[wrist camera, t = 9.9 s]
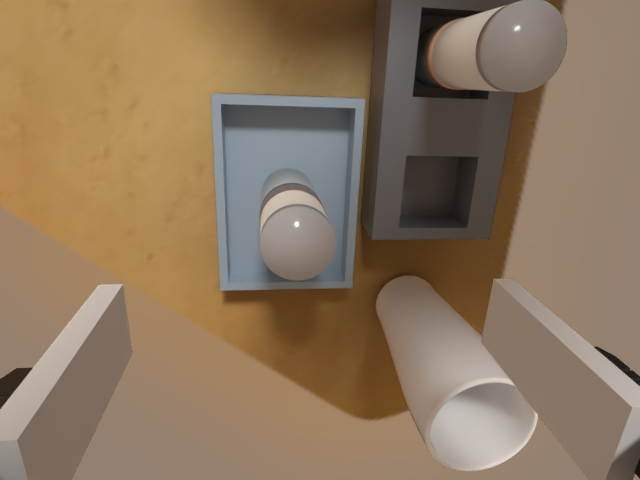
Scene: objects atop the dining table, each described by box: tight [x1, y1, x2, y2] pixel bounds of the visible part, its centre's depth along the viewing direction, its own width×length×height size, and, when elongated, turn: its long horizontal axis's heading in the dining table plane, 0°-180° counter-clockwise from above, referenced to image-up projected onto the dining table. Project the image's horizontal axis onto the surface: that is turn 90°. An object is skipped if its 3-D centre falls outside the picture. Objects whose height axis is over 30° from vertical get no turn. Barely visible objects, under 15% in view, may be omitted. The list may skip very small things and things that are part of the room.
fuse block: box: [361, 0, 522, 240], centre depth 31 cm, size 16×9×4 cm, turn 178°
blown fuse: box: [260, 168, 336, 280], centre depth 28 cm, size 4×4×11 cm
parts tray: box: [211, 93, 365, 291], centre depth 32 cm, size 14×10×2 cm
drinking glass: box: [376, 275, 538, 471], centre depth 31 cm, size 7×7×15 cm
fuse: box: [415, 0, 567, 92], centre depth 25 cm, size 4×4×11 cm
